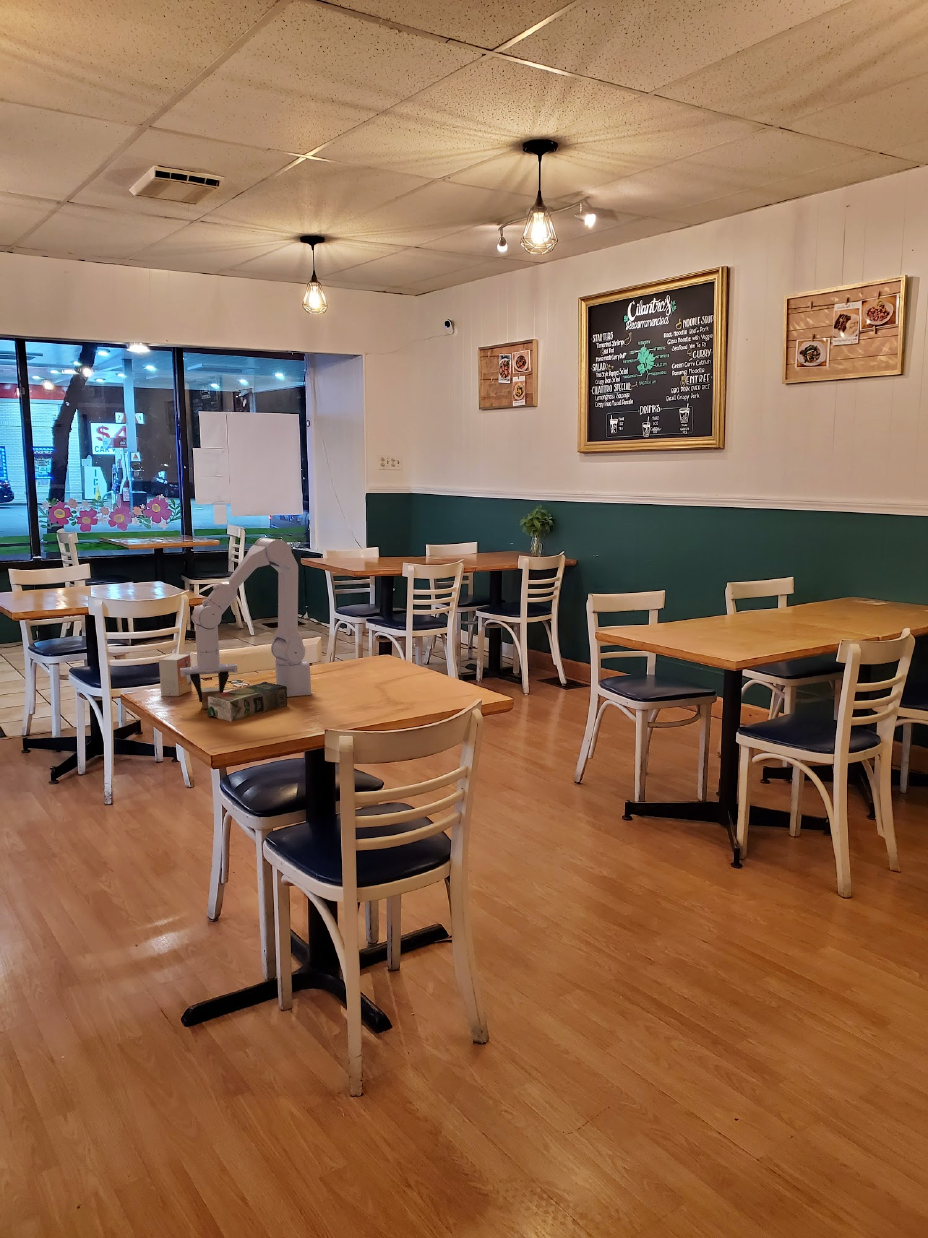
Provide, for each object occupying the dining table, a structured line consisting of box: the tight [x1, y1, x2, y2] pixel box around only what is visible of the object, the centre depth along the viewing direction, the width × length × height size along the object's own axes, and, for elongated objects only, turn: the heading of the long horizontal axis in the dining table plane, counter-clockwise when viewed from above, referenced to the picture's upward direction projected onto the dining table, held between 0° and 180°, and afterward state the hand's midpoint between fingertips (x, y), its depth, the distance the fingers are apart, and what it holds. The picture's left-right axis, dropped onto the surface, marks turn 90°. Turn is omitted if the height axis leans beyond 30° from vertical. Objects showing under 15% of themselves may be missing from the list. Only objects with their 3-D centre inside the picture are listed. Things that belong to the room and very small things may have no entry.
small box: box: [158, 653, 193, 697], centre depth 263 cm, size 8×6×10 cm
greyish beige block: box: [201, 686, 220, 709], centre depth 248 cm, size 4×4×4 cm
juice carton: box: [206, 681, 288, 722], centre depth 244 cm, size 20×10×6 cm, turn 143°
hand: (210, 700), depth 249 cm, fingers closed on greyish beige block, 4 cm apart
